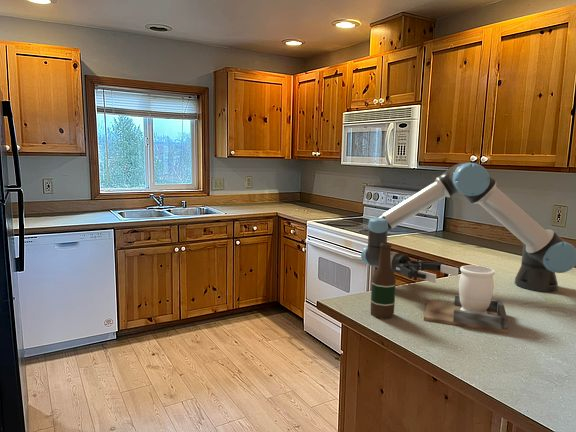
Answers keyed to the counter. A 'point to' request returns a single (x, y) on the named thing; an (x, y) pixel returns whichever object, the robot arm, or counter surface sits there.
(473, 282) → the jar
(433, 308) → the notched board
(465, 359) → the counter surface
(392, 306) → the beer bottle
